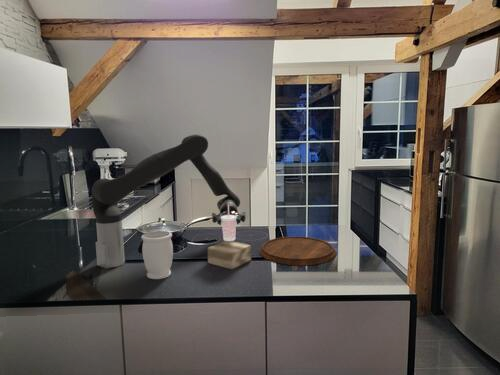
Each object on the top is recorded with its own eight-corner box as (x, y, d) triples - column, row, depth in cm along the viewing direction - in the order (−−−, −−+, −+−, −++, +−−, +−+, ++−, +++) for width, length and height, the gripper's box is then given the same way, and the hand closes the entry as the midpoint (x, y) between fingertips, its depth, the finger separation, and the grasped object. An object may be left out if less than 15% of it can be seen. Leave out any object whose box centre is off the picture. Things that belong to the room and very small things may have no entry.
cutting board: (245, 258, 150) (245, 252, 149) (277, 237, 178) (277, 232, 177) (323, 271, 135) (323, 265, 135) (344, 246, 163) (345, 241, 163)
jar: (158, 283, 126) (156, 240, 124) (137, 277, 132) (134, 236, 129) (180, 272, 135) (178, 232, 133) (159, 267, 140) (157, 229, 138)
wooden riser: (231, 269, 138) (231, 253, 137) (208, 262, 145) (207, 247, 144) (251, 259, 147) (250, 245, 146) (227, 254, 154) (227, 240, 153)
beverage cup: (237, 236, 148) (236, 202, 146) (237, 241, 142) (236, 205, 139) (221, 237, 148) (220, 202, 145) (221, 242, 142) (219, 206, 139)
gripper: (211, 203, 157) (209, 213, 140) (245, 202, 157) (247, 211, 141) (211, 221, 158) (210, 232, 141) (245, 219, 159) (248, 231, 142)
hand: (228, 222), depth 141 cm, fingers closed on beverage cup, 6 cm apart
